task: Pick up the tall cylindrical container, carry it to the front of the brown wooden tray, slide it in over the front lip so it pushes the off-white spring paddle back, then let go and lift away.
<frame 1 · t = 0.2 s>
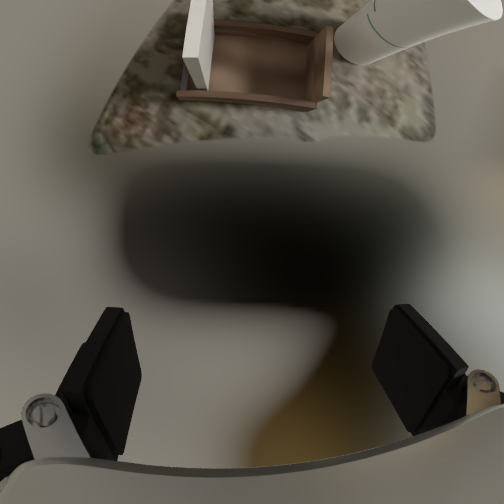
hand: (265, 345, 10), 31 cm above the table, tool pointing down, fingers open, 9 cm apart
brown wooden tray: (248, 67, 33), on the table
cylindrical container: (356, 44, 32), on the table
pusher: (202, 43, 24), point 9 cm above the table, slide at 0.0 cm
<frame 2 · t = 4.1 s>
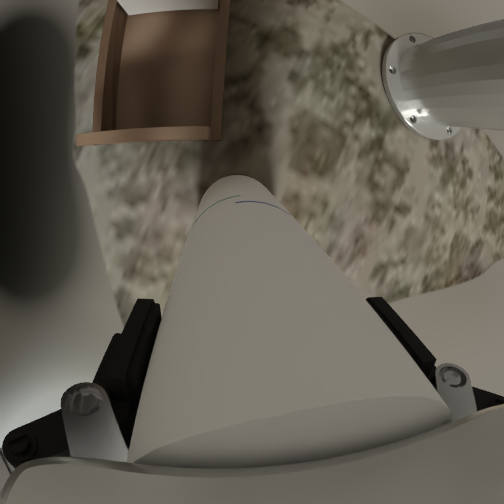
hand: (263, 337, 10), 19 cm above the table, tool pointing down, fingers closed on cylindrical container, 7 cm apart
brown wooden tray: (168, 56, 22), on the table
cylindrical container: (236, 212, 28), on the table, touching gripper
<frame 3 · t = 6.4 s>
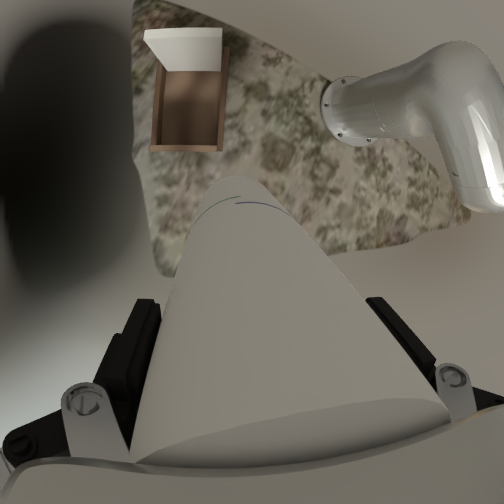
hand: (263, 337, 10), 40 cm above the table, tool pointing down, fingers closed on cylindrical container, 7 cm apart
brown wooden tray: (192, 99, 42), on the table
cylindrical container: (236, 212, 28), point 21 cm above the table, touching gripper
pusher: (189, 53, 31), point 9 cm above the table, slide at 0.0 cm
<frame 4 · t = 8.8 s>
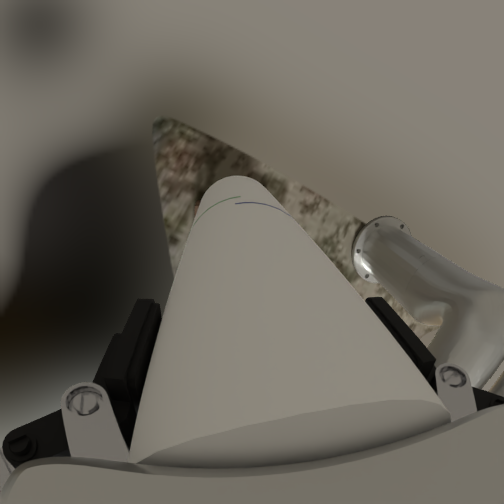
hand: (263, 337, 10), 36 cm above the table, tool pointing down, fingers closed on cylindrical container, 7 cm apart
cylindrical container: (236, 212, 28), point 17 cm above the table, touching gripper
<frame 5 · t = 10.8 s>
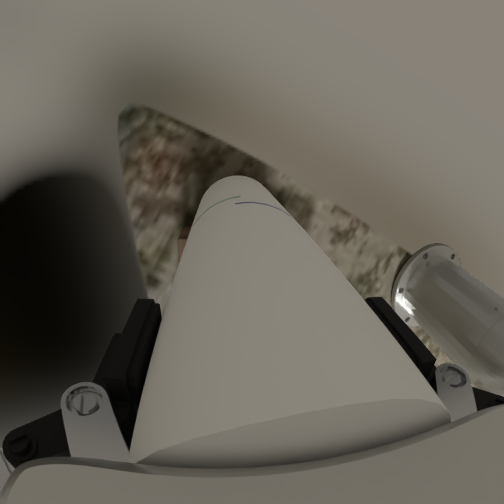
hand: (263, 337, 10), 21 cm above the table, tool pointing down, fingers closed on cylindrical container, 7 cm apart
cylindrical container: (236, 212, 28), point 2 cm above the table, touching gripper
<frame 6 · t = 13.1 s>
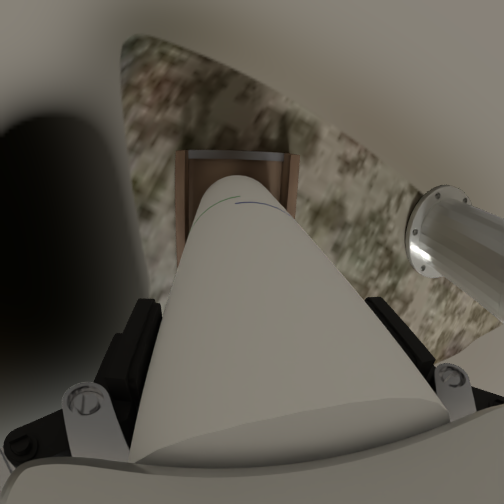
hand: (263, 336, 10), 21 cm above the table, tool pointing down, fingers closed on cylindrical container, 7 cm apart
brown wooden tray: (233, 231, 31), on the table
cylindrical container: (236, 212, 28), point 2 cm above the table, touching gripper, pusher
when the fingers open (21 cm above the table, at t = 13.5 s): cylindrical container drops 2 cm, resting on brown wooden tray, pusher.
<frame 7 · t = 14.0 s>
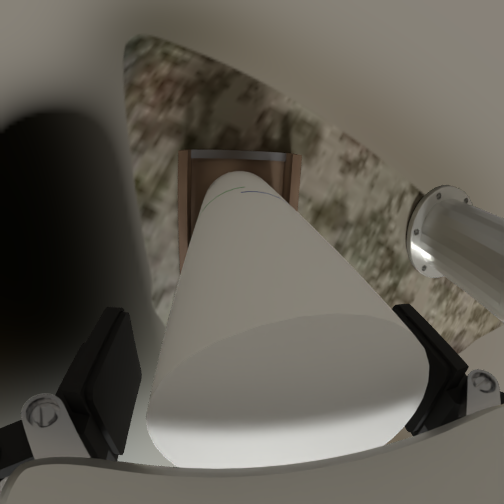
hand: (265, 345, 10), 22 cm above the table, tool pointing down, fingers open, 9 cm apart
brown wooden tray: (235, 230, 31), on the table
cylindrical container: (239, 206, 30), resting on brown wooden tray, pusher
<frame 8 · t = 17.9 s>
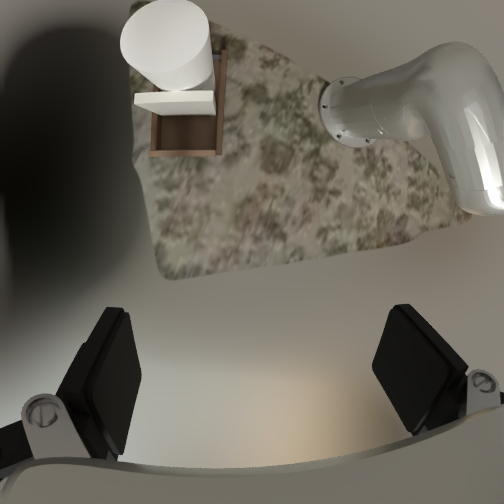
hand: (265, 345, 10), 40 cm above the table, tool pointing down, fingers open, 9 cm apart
brown wooden tray: (190, 104, 42), on the table
cylindrical container: (193, 87, 41), resting on brown wooden tray, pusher
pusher: (182, 105, 34), point 9 cm above the table, slide at 6.8 cm, touching cylindrical container
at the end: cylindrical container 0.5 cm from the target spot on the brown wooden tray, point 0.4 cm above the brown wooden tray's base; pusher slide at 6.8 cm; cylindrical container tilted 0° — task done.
